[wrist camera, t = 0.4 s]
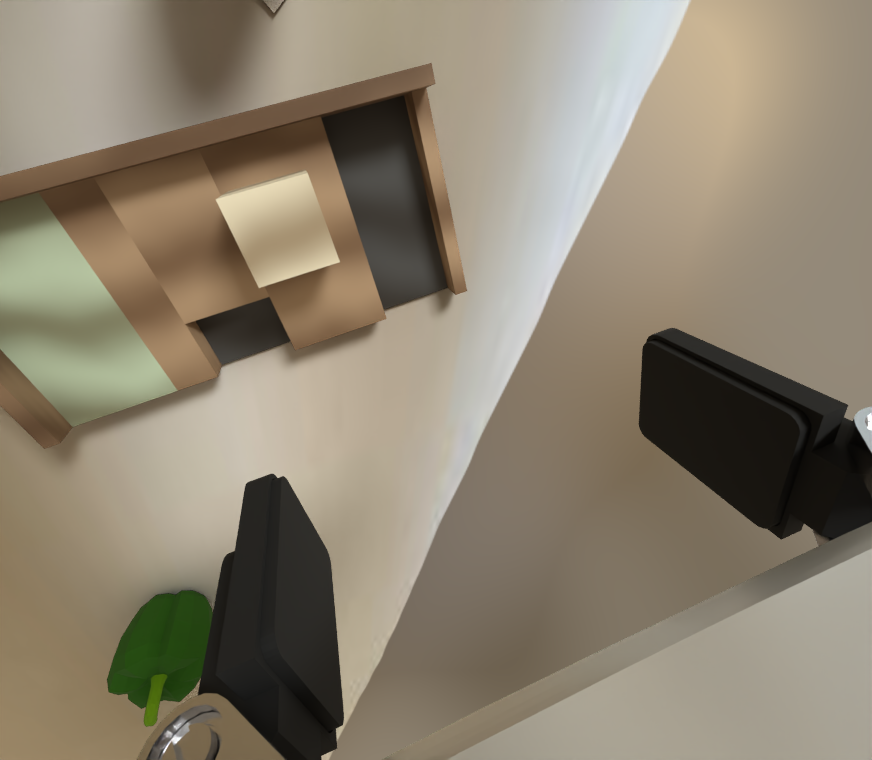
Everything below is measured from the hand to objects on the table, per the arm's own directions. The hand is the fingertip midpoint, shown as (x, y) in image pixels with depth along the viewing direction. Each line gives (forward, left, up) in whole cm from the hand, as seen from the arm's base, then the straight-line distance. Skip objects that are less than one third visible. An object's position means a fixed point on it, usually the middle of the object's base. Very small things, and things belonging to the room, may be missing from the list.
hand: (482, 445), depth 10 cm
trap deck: (-1, -8, -26) cm, 27 cm away
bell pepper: (+30, -30, -26) cm, 50 cm away
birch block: (-3, -4, -24) cm, 24 cm away
